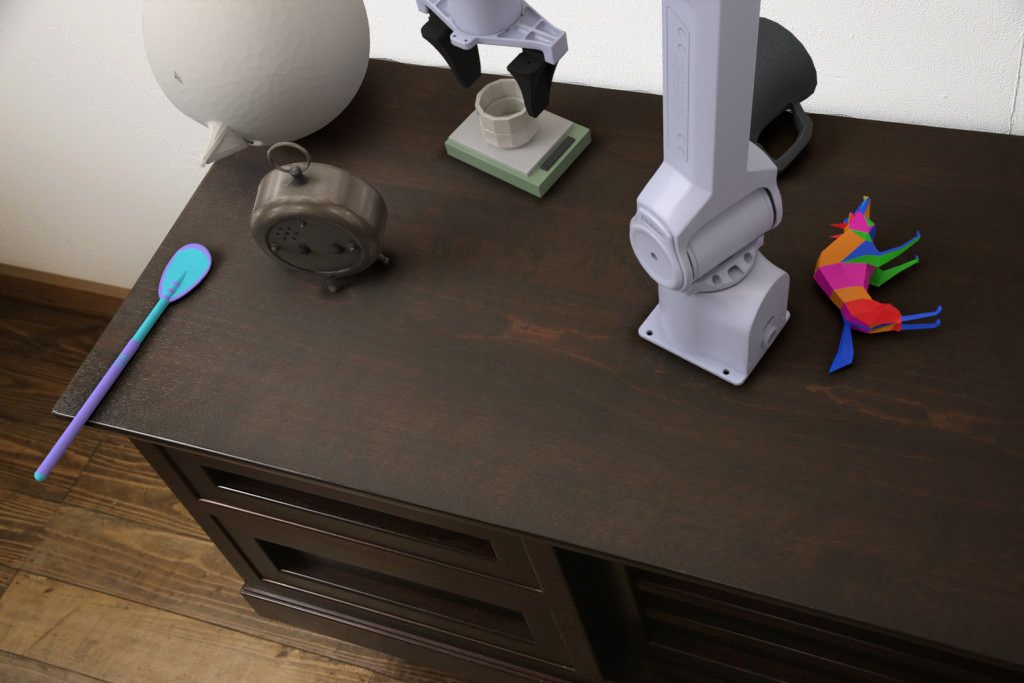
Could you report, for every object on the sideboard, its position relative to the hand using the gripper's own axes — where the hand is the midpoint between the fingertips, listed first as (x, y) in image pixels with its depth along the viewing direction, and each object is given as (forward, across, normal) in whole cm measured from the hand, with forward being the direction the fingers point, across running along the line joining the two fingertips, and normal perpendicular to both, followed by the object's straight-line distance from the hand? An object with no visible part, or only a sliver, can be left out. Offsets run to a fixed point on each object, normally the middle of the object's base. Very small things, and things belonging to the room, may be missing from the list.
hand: (504, 95), depth 96 cm
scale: (+6, 0, 0) cm, 6 cm away
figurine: (+4, +38, +4) cm, 39 cm away
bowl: (+4, 0, 0) cm, 4 cm away
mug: (+2, +19, +17) cm, 25 cm away
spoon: (+5, -14, -37) cm, 40 cm away
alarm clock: (+7, -5, -20) cm, 22 cm away
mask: (+2, -22, +1) cm, 22 cm away
